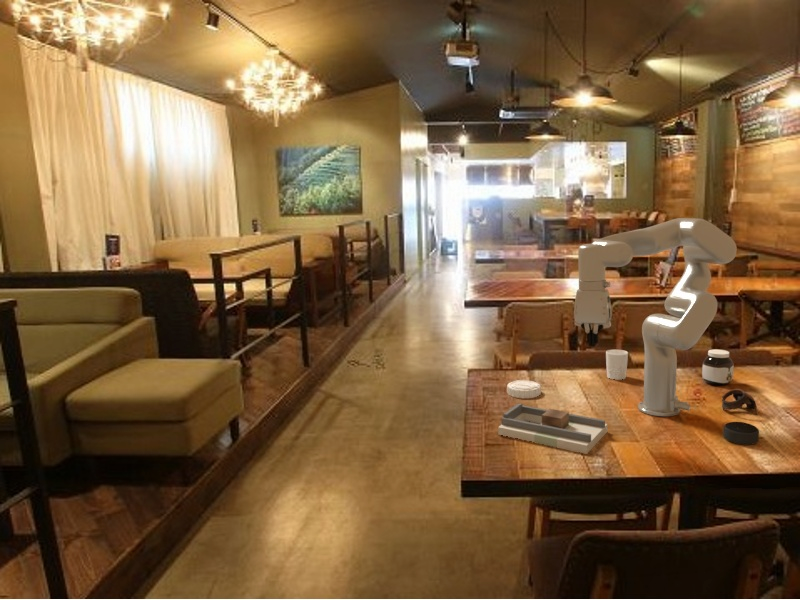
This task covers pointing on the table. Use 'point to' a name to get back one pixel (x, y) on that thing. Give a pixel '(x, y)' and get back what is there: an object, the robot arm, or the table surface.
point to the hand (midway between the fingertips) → (592, 345)
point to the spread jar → (718, 368)
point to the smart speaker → (741, 433)
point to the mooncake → (523, 389)
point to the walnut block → (555, 418)
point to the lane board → (552, 429)
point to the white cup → (616, 364)
